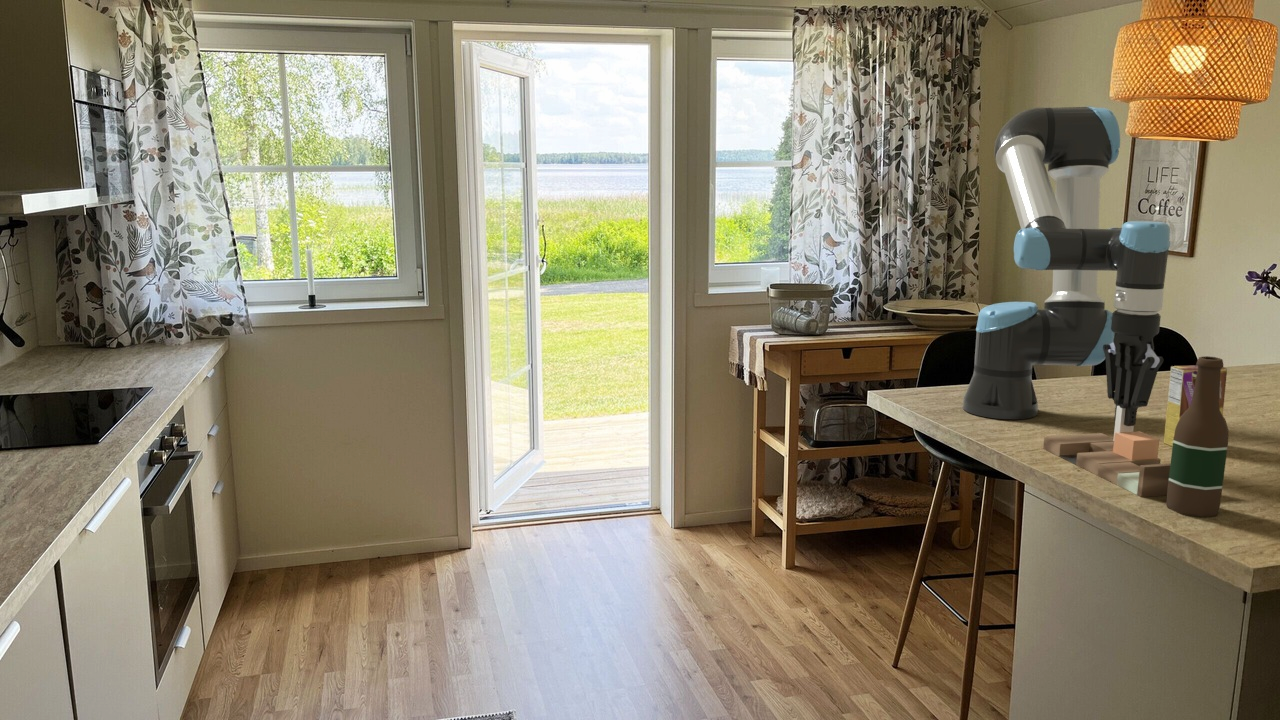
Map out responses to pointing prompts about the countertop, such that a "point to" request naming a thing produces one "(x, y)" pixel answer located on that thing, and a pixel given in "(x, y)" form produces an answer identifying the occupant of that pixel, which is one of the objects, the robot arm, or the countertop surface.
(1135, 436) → the block
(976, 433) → the countertop surface
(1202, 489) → the beer bottle
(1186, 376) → the candy box
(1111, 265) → the robot arm
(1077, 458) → the board
